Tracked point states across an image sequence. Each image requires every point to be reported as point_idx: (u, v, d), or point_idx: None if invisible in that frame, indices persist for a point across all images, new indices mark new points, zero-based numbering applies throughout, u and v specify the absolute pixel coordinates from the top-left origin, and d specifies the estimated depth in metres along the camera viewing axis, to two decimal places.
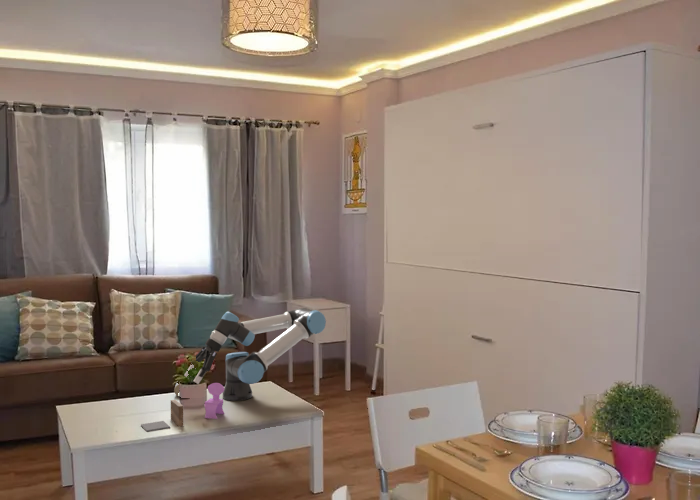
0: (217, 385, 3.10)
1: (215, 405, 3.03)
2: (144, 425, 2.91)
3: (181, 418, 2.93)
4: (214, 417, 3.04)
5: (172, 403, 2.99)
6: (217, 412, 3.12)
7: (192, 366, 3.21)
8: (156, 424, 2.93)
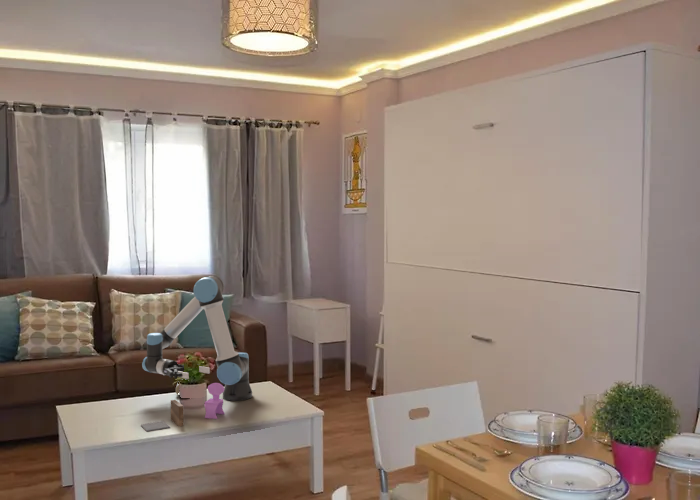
0: (217, 385, 3.10)
1: (215, 405, 3.03)
2: (144, 425, 2.91)
3: (181, 418, 2.93)
4: (214, 417, 3.04)
5: (172, 403, 3.00)
6: (217, 412, 3.12)
7: (200, 370, 3.21)
8: (156, 424, 2.93)
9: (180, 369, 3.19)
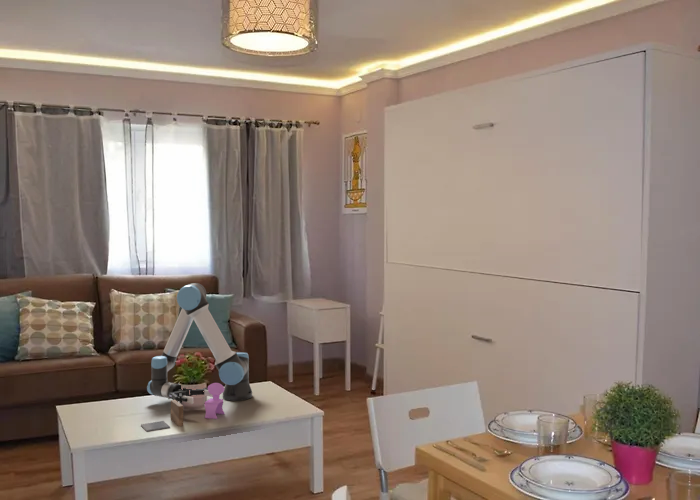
0: (217, 385, 3.10)
1: (215, 405, 3.03)
2: (144, 425, 2.91)
3: (181, 418, 2.93)
4: (214, 417, 3.04)
5: (172, 403, 2.99)
6: (217, 412, 3.12)
7: (205, 393, 3.19)
8: (156, 424, 2.93)
9: (185, 393, 3.17)
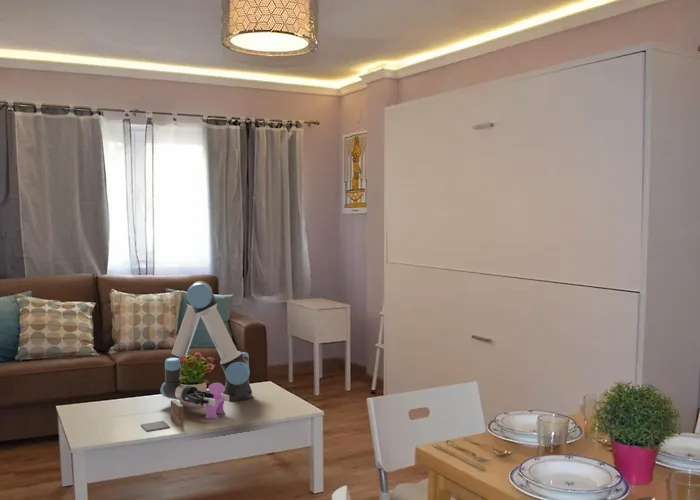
0: (218, 385, 3.10)
1: (216, 405, 3.04)
2: (144, 425, 2.91)
3: (181, 418, 2.93)
4: (215, 417, 3.04)
5: (172, 403, 2.99)
6: (218, 412, 3.12)
7: None
8: (156, 424, 2.93)
9: (200, 395, 3.12)
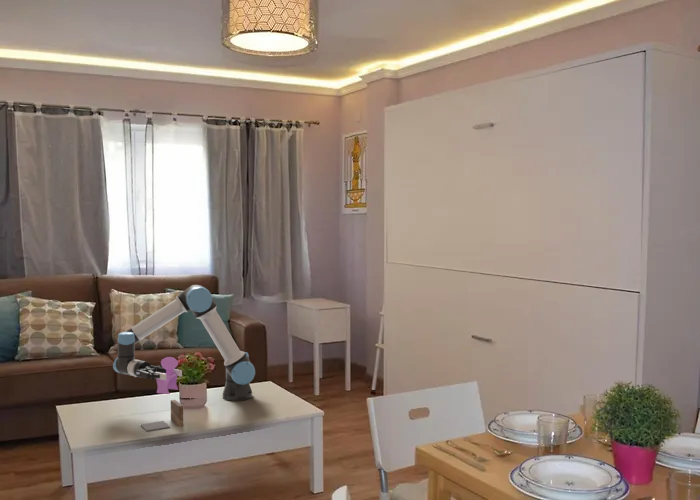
0: (171, 359, 2.97)
1: (167, 380, 2.91)
2: (144, 425, 2.91)
3: (181, 418, 2.93)
4: (166, 392, 2.91)
5: (172, 403, 2.99)
6: (171, 388, 3.00)
7: None
8: (156, 424, 2.93)
9: (152, 370, 3.00)
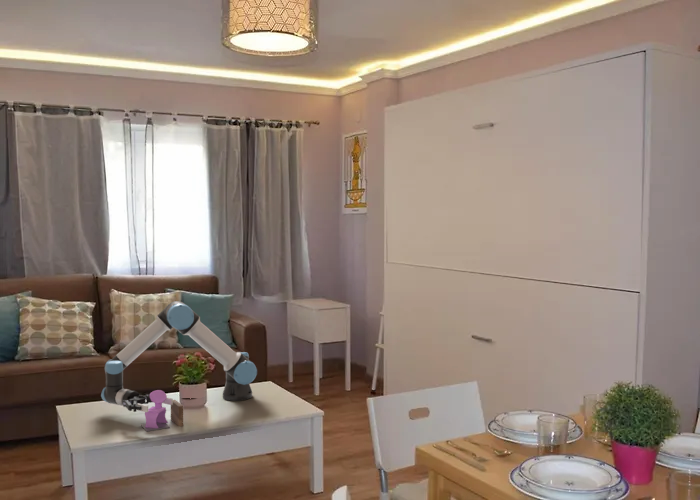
0: (159, 392, 2.93)
1: (156, 414, 2.87)
2: (144, 425, 2.91)
3: (181, 418, 2.93)
4: (155, 426, 2.87)
5: None
6: (160, 421, 2.96)
7: None
8: None
9: (141, 400, 2.96)
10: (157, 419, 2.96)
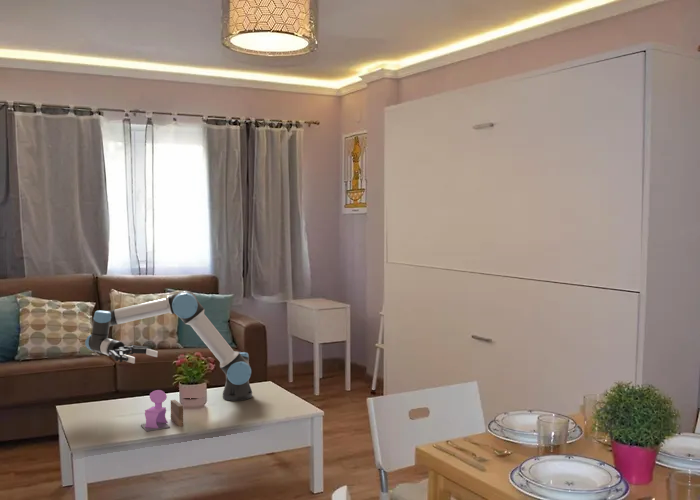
0: (159, 392, 2.93)
1: (156, 414, 2.87)
2: (144, 425, 2.91)
3: (181, 418, 2.93)
4: (155, 426, 2.87)
5: (172, 403, 2.99)
6: (160, 421, 2.96)
7: (147, 353, 3.07)
8: None
9: (126, 351, 3.04)
10: (157, 419, 2.96)
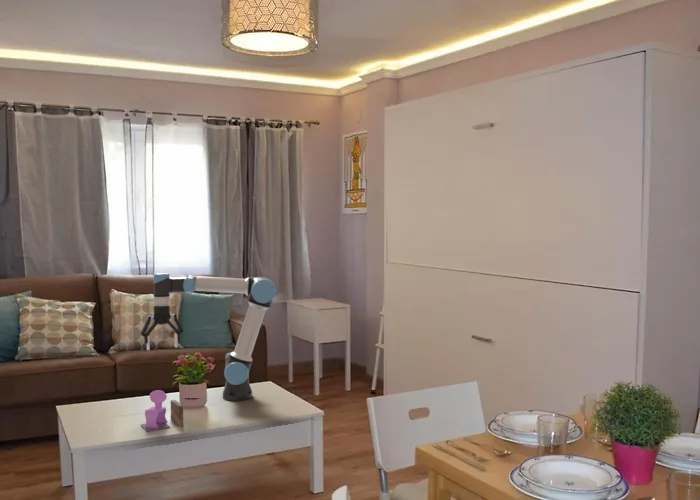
0: (159, 392, 2.93)
1: (156, 414, 2.87)
2: (144, 425, 2.91)
3: (181, 418, 2.93)
4: (155, 426, 2.87)
5: (172, 403, 3.00)
6: (160, 421, 2.96)
7: (174, 335, 3.26)
8: None
9: None
10: (157, 419, 2.96)
